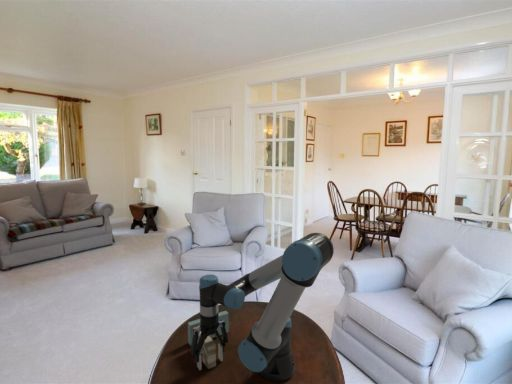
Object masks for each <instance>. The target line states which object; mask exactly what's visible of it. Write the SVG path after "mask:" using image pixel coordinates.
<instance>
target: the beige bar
mask: <svg viewBox="0 0 512 384" xmlns="http://www.w3.org/2000/svg"><path fill="white" fill-rule="evenodd" d="M199 327H200V326H198V327H195V328H193V329H199ZM200 334H201V331H200V333H199V335H198V341H199V339H200ZM197 344H198V342H197ZM200 354H201V355H202V362H203V365H205V367H206V368H207V369H208V370H209V369H212V368H214V367H216V366H217V343H216V342H215V341H214V339H213V338H210V336H207V339H205V342H204V344H203V347H202V349H201V351H200Z"/></svg>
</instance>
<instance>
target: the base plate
mask: <svg viewBox="0 0 512 384" xmlns="http://www.w3.org/2000/svg"><path fill="white" fill-rule="evenodd" d="M218 315H219V321H221V320H223V321H224V322H225V329H226V333H227V334H228V333H230V329H229V328H230V321H229V320H230V315H229V312H228V311H227V310H224V311H220V312H218ZM219 321H218V322H219ZM198 326H200V318H197V319H195V320H192V321H188V322H187V343H188V345H189V346H190V347H191V345H192V339H193V328H195V327H198ZM217 331H218V333H219V335H220V336H222V332H221V328H220V326H218V328H217ZM209 336H210V338H211V339H213V338H214V339H215V338H217V337H216V335H215V334H213V335H209Z"/></svg>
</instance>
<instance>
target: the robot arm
mask: <svg viewBox="0 0 512 384" xmlns="http://www.w3.org/2000/svg"><path fill="white" fill-rule="evenodd" d="M334 250H335V247H334V245H333V242H332V240H331V239H330V238H329V237H328V236H327V235H325V234H323V233H321V232H311V233H309V234H307V235H305V236H303V237H301V238H299V239H297V240H295V241H293V242H291V243H290V244H289V245H288V246H287V247H286V249H284V251H283V253H282V254H281V255H280V256H278V257H276V258H274V259H272V260H271V261H269V262H267V263H265V264H264V265H261V266H260V267H258V268H256V269H254V270H253V271H251V272H249V273H246V274H244V275H243V276H242V277H240V278H238V279H236V280H235V281H233V282H231V283H229V284H223V283H221V282H219V278H218V276H217V275H215V274H212V273H211V274H205V275H202V276H201V277H200V279H199V286H198V289H199V313H200V314H199V319H200V327H199V329H193V339H192V345H191V346H190V349H189V350H190V355H192V357H194V360H195V362H196V367H197V368H198V370H199V371H201V370H202V354H200V351H201V349H202V347H203V344H204V342H205V339H207V336H209V335H213V334H215V335H216V337H215V338H216V339H217V340H218V342H219V343H217V349H218V350H217V352H218V353H217V359H218V360H219V361H220V362H223V360H224V357H223V356H224V355H223V353H224V352H225V347H226V346H227V345H226V344H228V343H229V338H228V333H226V329H225V322H224V321H223V320H221V321H219V315H218V313H219V305H221V306H224V307H226V308H229V309H234V310H238V309H240V308H241V307H242V306H243V304H244V302H245V300H246V297H247V296H248V295H251V294H252V293H254V292H255V291H258V290H260V289H262V288H264V287H266V286H268V285H270V284H272V283H275V282H276V281H278V280H279V281H278V283H277V286H276V288H275V289H274V290H273V293H272V295H271V297H270V299H269V301H268V303H267V305H266V308H265V310H264V311H263V313H262V316H261V318H260V319H259V321H256V322H254V323H253V325H252V327H251V328H250V331H249V333H248V334H247V336H246V337H245V339H243V340H241V343H239V345H238V347H237V353H238V356H239V359H240V361H241V363H242V364H243V365H244V367H246V368H247V369H248V370H250V371H251V372H254V373H259V374H260V375H261V377H263V378H265V379H267V380H269V381H272V382H284V381H287V380H289V379H290V378H292V377H293V376H294V374H295V371H296V362H295V359H294V357H293V354H292V326H293V325H292V318H291V316H292V314H293V312H294V310H295V308H296V306H297V305H298V302H299V301H300V299H301V297H302V296H303V294H304V291H305V289H306V288H310V287H312V286H313V285H314V283H315V281H316V280H317V277H318V276H319V274H320V272H321V270H322V269H323V268H324V267H326V265H327V264H329V263H330V261H331V260H332V258H333V256H334V253H335V252H334ZM218 321H219V322H218ZM218 326H220V328H221V332H222V335H219V333H218V331H217V328H218ZM200 331H201V334H200V339H199V341H198V335H199V333H200ZM221 336H222V337H221ZM197 342H198V344H197Z"/></svg>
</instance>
